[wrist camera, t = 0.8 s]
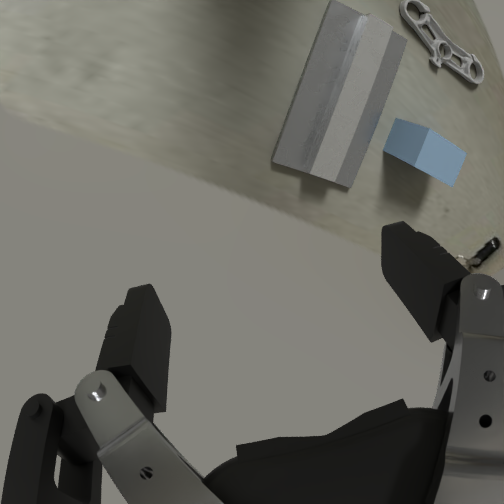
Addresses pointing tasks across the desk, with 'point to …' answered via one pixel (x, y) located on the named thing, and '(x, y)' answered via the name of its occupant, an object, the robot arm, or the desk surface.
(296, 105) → the din rail
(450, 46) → the bracket
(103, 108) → the desk surface
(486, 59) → the desk surface
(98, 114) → the desk surface
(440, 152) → the block
